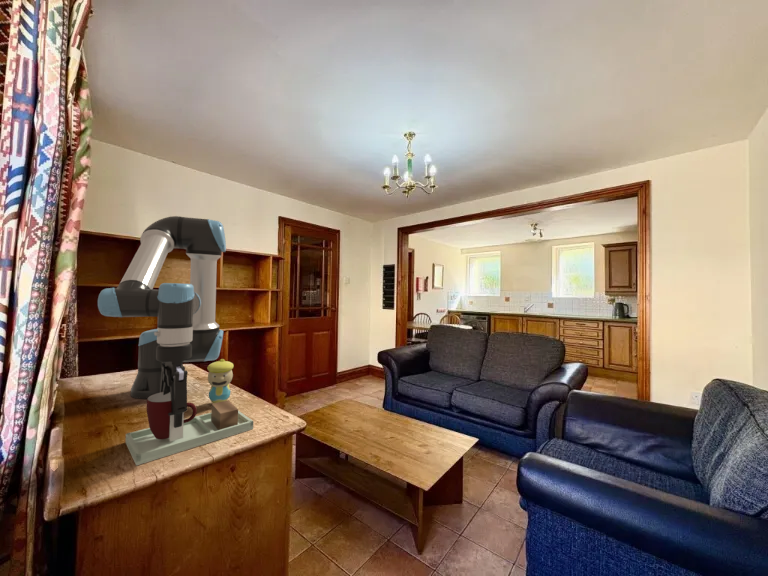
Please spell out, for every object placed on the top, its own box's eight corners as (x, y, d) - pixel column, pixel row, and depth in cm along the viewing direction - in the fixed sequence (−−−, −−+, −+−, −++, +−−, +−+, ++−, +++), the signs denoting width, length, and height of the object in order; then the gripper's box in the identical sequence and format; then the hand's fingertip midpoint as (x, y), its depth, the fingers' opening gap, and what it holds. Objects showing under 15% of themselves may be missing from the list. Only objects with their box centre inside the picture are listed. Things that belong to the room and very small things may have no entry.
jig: (125, 442, 77) (125, 433, 77) (233, 414, 96) (233, 407, 96) (136, 465, 68) (136, 455, 68) (253, 428, 87) (253, 421, 87)
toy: (204, 410, 98) (205, 363, 98) (207, 400, 107) (209, 357, 107) (231, 407, 102) (233, 361, 102) (232, 398, 110) (234, 356, 110)
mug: (192, 423, 85) (194, 386, 85) (198, 434, 79) (199, 395, 79) (144, 433, 78) (145, 394, 78) (146, 447, 72) (147, 404, 72)
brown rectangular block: (219, 432, 83) (220, 413, 83) (211, 420, 89) (211, 403, 89) (237, 427, 86) (238, 409, 86) (227, 416, 92) (228, 400, 92)
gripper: (147, 339, 83) (144, 424, 83) (167, 352, 69) (163, 454, 69) (180, 336, 88) (177, 416, 88) (204, 348, 74) (201, 442, 74)
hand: (171, 433), depth 78 cm, fingers closed on mug, 8 cm apart
